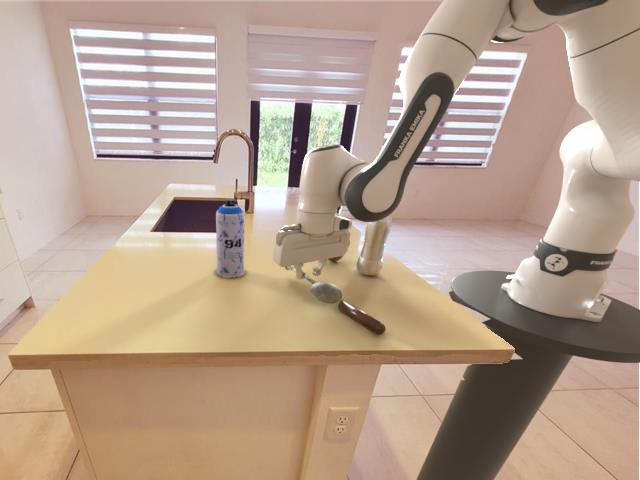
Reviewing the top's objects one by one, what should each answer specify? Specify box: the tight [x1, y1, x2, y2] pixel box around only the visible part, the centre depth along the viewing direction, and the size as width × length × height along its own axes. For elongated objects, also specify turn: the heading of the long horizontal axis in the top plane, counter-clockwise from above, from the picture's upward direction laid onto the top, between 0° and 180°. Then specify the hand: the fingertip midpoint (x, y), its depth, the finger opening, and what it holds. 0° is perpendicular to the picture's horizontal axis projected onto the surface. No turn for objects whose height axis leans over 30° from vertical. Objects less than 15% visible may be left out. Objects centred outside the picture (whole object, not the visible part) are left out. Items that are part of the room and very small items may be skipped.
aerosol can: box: [215, 199, 246, 279], centre depth 84 cm, size 8×8×20 cm
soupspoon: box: [284, 265, 343, 304], centre depth 79 cm, size 22×3×7 cm
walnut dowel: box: [337, 299, 387, 335], centre depth 66 cm, size 2×12×2 cm, turn 26°
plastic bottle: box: [356, 214, 393, 276], centre depth 84 cm, size 6×7×20 cm
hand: (308, 276), depth 79 cm, fingers closed on soupspoon, 3 cm apart
